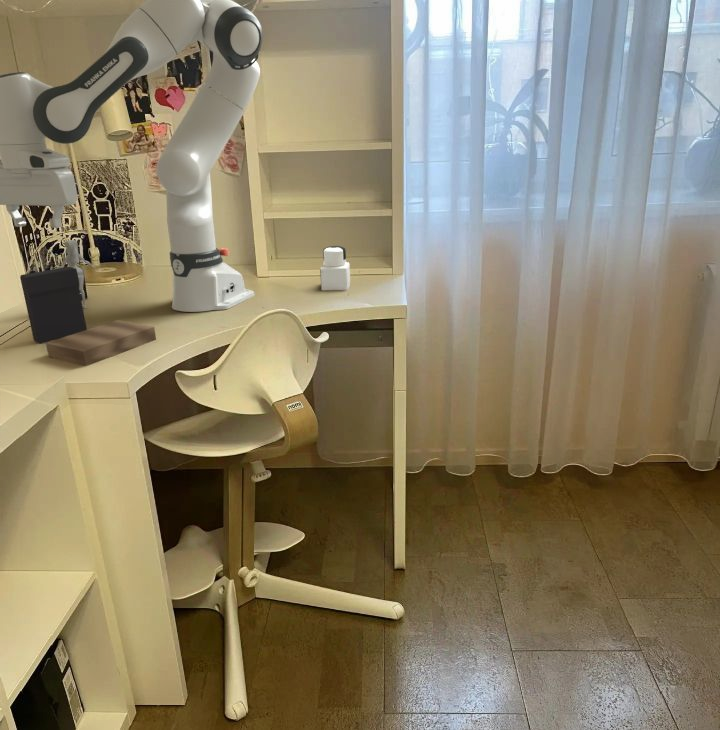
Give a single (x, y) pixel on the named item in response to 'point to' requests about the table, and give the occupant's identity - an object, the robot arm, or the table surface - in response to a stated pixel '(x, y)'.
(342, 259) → the medicine bottle
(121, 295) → the table surface
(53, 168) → the robot arm
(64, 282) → the black upright rectangular block
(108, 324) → the walnut plinth
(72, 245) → the human figurine
